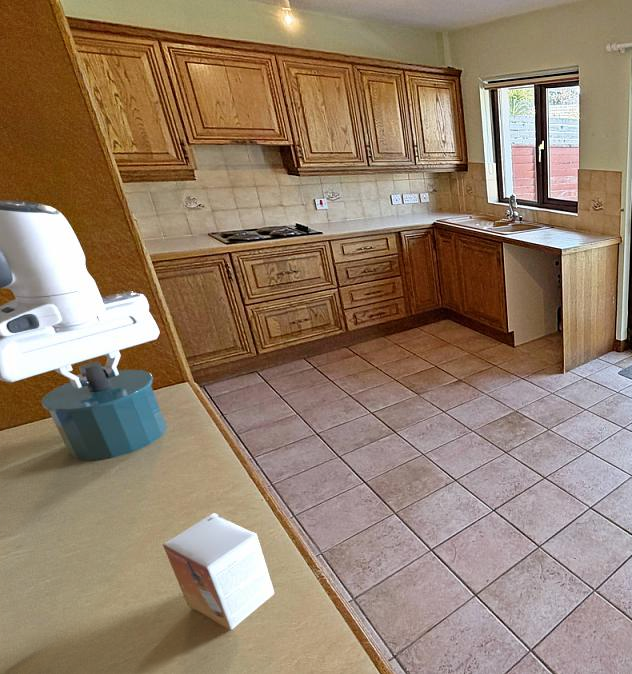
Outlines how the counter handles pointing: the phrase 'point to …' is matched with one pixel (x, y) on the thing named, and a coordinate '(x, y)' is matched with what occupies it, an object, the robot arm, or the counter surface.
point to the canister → (112, 427)
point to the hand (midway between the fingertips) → (96, 381)
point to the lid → (97, 389)
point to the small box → (220, 570)
